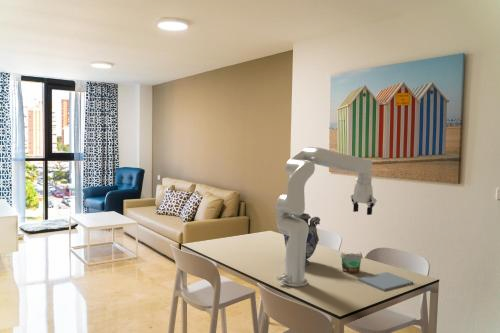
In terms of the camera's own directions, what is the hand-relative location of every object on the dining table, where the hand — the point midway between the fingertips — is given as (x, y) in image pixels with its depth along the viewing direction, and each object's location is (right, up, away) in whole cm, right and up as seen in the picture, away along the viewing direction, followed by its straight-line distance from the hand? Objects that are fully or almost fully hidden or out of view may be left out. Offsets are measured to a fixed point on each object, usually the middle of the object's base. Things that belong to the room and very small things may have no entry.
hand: (362, 213), depth 218 cm
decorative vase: (-32, -30, +11) cm, 45 cm away
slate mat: (+7, -33, -16) cm, 37 cm away
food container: (-6, -32, -3) cm, 32 cm away
